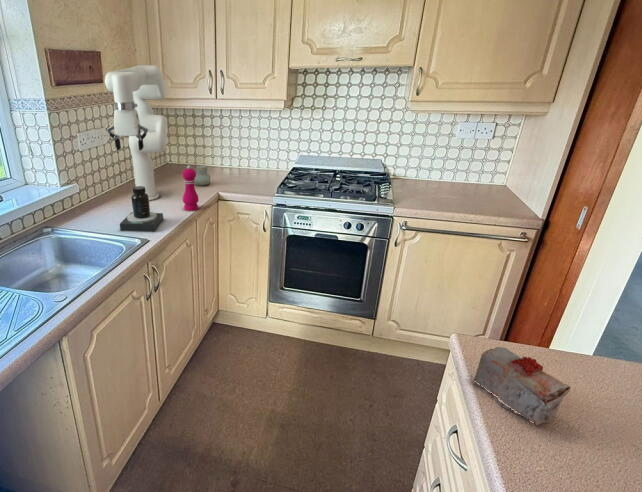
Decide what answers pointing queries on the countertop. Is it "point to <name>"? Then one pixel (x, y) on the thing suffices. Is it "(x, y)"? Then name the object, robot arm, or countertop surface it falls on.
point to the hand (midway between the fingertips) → (129, 149)
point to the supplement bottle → (140, 202)
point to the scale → (141, 223)
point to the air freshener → (202, 176)
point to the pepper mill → (190, 190)
